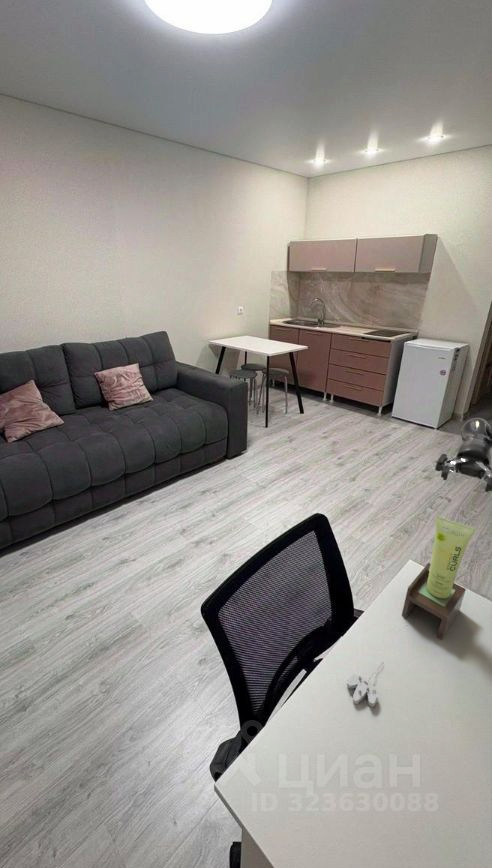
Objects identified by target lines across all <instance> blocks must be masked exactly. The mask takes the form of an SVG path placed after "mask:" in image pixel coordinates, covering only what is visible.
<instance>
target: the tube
mask: <svg viewBox="0 0 492 868" xmlns="http://www.w3.org/2000/svg"><path fill="white" fill-rule="evenodd" d="M475 532H476V528H475V527H472V526H468V525H466V524H463V523H461V522H457V521H453V520H451V519H447V518H445V517H442V516H440V515H436V516H435V530H434V540H433V548H432V553H431V561H430V564H431V565H430V569H429V570H430V571H429V577H428V582H427V590H428V591H429V593H431V594H432V595H433V596H435V597H438V598H448V597H449V596H450V593H451V590H452V587H453V584H454V583H455V580H456V578H457V574H458V571H459V568H460V565H461V563H462V561H463V557H464V555H465V552H466V550H467V547H468V545H469V543H470V541H471V538H472V537H473V535H474V533H475Z"/></svg>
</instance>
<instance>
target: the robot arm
mask: <svg viewBox="0 0 492 868" xmlns="http://www.w3.org/2000/svg"><path fill="white" fill-rule="evenodd" d="M460 437H461V441H462V443H461V445H460V446H459V448H458V451H457V453H456V456H455V457H454V458H450V457H448V454H446V453H441V454H440V456H439V458H438V459H437V461H436V465H435V468H434V469H435V471H436V472H441V474H440V478H442V480H443V481H447V480H448V477H449V475H453V476H456V475H465V476H467V477H473V478H475V479H477V480H478V481H479V482H480V483H482V484H483V483H484V484H485V488H484V492H485V493H489V492H492V467H491V462H492V425H491V426H490V424H489V423H488V422H487V420H486V419H483V418H480V417H473V418H470V419H468V420H467V421H466V422H465V423H463V424H462V426H461V429H460Z"/></svg>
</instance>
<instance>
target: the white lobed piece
mask: <svg viewBox="0 0 492 868" xmlns="http://www.w3.org/2000/svg"><path fill="white" fill-rule="evenodd" d="M383 664H384V662H383V661H382V662H381V663H380V664H379V666H378V667H377V669H376V671H375V672H373V673H372V674H371V675H370V677H369V678H368V679H366V678H365V677H363V676H361V675H359V674H352V675H351V676H350V677H349V678H348V679H347V680H346V686H347V688H348V689H355V690H354V693H353V695H352V702H353V704H354V705H358V704H360V702H361V701H362V700H364V698H365V697H366V696H367V704H368V706H369V707H375V705H376V702H377V700H378V694H379V693H378V690H377V688H376V687H375V686H374V685H373V684H372V682H370V680H371V678H372V677H373V675H374V674H376V673H377V672H378V671H379V669H380V668H381V666H382V665H383Z"/></svg>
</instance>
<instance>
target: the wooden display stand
mask: <svg viewBox="0 0 492 868" xmlns="http://www.w3.org/2000/svg"><path fill="white" fill-rule="evenodd" d="M430 565H431V562H427V564H426V565H425V566H424V568H422V570H421V571H420V572H419V573H418V575H417V576H416V577H415V578H414V579H413V581H412V582H411V583H410V585H409V586H408V587H407V591H406V594H405V598H404V602H403V608H402V612H401V616H402V617H403V618H407V617H408V615H409V614H410V613H411V611H412V610H413V609H414V607H415V606H418V607H420V608H421V609H423V610H425V611H427V612H428V613H431V614H432V615H434V616H436V617H438V618H439V619H441V620H440V624H439V628H438V630H437V634H436V638H437V639H438V640H442V639H443V638H444V637H445V635H446V633H447V631H448V629H449V628H450V627H451V625H452V623H453V622H454V620H455V618H456V617H457V616H458V613H459V612H460V609H461V607H462V603H463V600H464V597H465V593H466V588H465V587H462V586H461V585H459V584H457V583H455V582H454V584H453V587H452V590H451V593H450V596H449V597H448V598H438V597H435V596H433V595H432V594H431V593H429V591H428V590H427V582H428V577H429V571H430Z"/></svg>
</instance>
